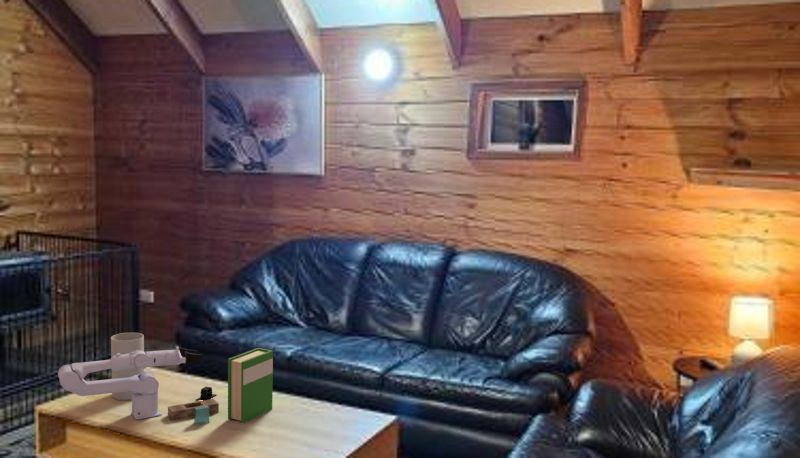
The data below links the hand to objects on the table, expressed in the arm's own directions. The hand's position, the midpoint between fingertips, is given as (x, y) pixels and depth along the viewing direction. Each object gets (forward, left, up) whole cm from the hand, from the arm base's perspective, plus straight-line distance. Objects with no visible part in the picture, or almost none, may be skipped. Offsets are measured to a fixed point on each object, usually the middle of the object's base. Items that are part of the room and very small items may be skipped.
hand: (200, 355), depth 283 cm
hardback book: (+14, -18, -21) cm, 31 cm away
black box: (+5, +8, -22) cm, 24 cm away
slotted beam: (-5, -7, -21) cm, 22 cm away
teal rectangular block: (-5, -17, -21) cm, 27 cm away
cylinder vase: (-22, +25, -21) cm, 40 cm away
